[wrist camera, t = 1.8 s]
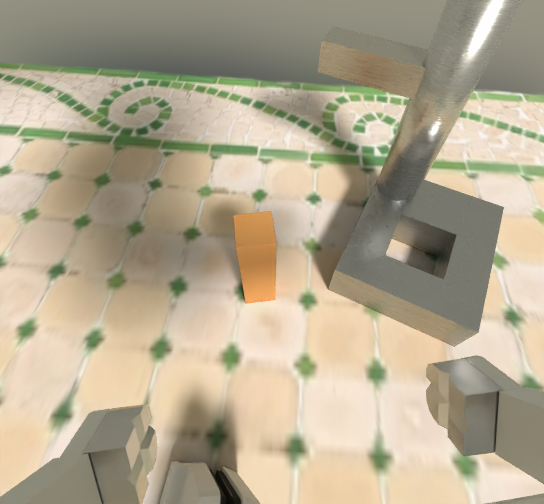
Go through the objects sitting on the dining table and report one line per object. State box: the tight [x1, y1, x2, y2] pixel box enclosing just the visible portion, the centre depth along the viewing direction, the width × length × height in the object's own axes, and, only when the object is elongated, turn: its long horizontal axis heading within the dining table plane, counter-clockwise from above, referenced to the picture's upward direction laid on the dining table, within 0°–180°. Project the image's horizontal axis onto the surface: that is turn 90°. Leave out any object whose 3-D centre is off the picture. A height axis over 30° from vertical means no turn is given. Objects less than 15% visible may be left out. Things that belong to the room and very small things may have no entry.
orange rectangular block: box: [233, 211, 276, 303], centre depth 28 cm, size 3×3×10 cm
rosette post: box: [318, 0, 523, 347], centre depth 25 cm, size 20×14×22 cm
